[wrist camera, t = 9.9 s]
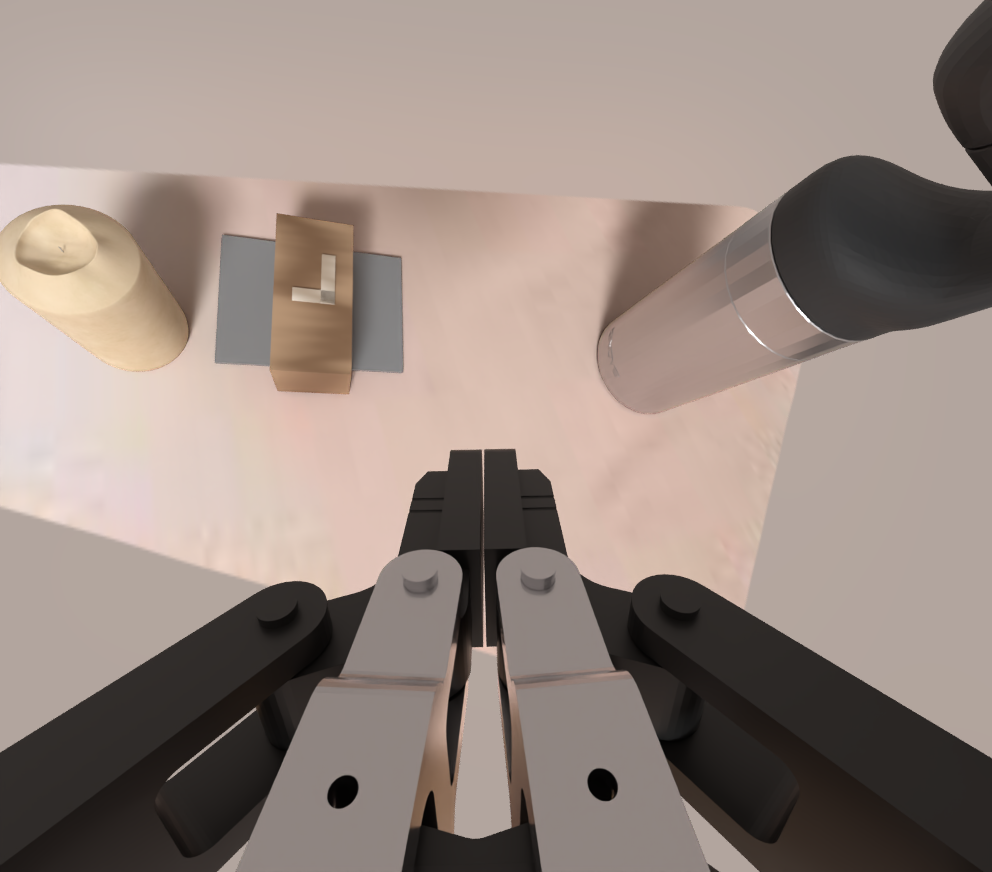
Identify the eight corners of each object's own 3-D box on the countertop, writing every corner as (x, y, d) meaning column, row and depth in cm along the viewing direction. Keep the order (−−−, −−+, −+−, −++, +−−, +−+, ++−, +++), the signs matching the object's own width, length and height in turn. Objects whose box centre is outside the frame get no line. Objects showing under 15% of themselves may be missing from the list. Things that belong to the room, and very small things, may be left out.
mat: (400, 260, 36) (401, 258, 36) (402, 373, 35) (402, 371, 35) (222, 237, 32) (221, 234, 32) (215, 363, 31) (214, 361, 31)
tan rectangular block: (348, 394, 33) (350, 261, 35) (351, 373, 29) (353, 223, 30) (277, 390, 32) (283, 252, 33) (269, 369, 27) (276, 211, 29)
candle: (94, 282, 30) (-14, 168, 20) (196, 298, 31) (138, 200, 22) (76, 366, 28) (-47, 287, 19) (182, 378, 30) (116, 310, 21)
